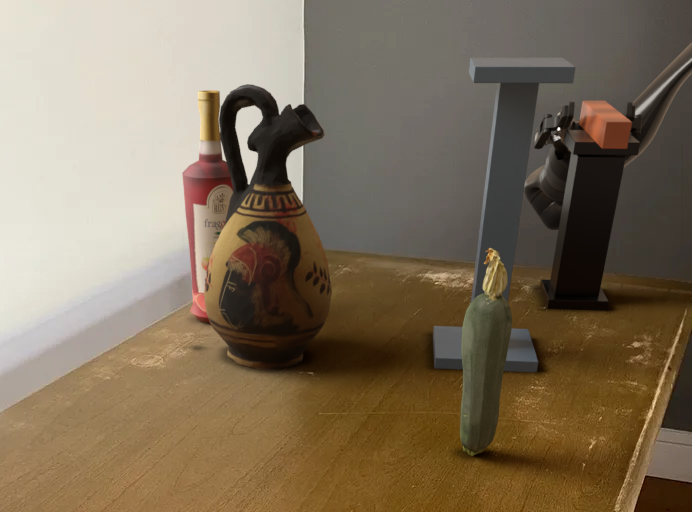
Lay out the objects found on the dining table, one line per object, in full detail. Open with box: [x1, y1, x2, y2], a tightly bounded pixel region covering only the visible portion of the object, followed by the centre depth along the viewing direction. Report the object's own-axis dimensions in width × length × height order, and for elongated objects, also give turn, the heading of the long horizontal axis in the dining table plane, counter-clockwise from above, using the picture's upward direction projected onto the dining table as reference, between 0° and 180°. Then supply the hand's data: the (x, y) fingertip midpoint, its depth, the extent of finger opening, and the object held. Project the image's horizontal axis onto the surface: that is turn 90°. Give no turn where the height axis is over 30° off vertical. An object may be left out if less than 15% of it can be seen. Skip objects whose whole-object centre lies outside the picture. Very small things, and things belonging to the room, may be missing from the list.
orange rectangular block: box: [578, 100, 632, 149], centre depth 125 cm, size 20×3×3 cm, turn 172°
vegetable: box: [459, 248, 513, 457], centre depth 90 cm, size 4×4×20 cm
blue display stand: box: [432, 57, 576, 373], centre depth 111 cm, size 12×12×32 cm
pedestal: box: [539, 130, 640, 312], centre depth 131 cm, size 10×8×22 cm
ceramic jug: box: [204, 83, 333, 370], centre depth 112 cm, size 17×15×30 cm
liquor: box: [181, 89, 233, 324], centre depth 125 cm, size 7×7×28 cm
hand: (600, 109), depth 127 cm, fingers open, 7 cm apart
